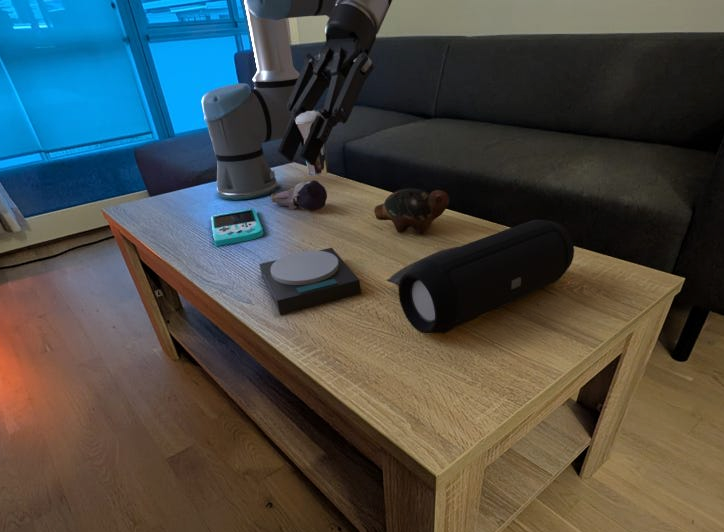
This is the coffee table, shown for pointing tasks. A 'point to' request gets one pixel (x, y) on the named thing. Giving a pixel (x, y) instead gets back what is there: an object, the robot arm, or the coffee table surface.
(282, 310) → the scale
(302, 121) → the milkshake
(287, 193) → the figurine
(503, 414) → the coffee table surface
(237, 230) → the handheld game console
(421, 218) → the decorative turtle
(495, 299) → the portable speaker
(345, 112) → the robot arm
